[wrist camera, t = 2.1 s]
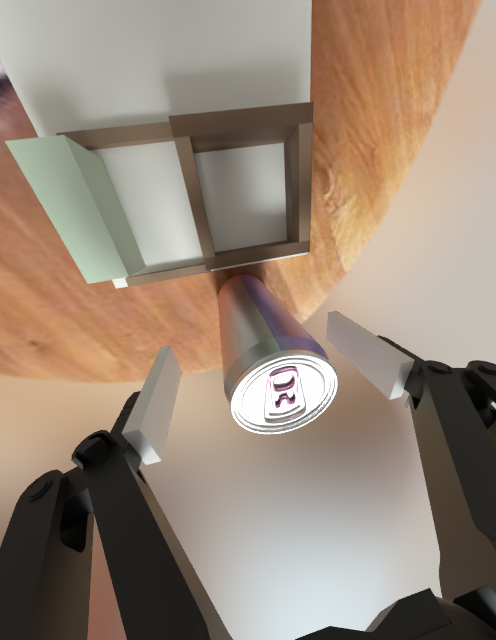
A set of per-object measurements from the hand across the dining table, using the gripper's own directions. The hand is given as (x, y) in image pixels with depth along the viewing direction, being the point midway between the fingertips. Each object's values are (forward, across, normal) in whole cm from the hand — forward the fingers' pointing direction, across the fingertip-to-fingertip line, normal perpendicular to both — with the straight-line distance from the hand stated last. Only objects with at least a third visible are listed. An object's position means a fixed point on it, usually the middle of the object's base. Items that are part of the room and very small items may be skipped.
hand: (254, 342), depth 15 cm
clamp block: (+7, -10, +10) cm, 16 cm away
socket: (+7, +2, +11) cm, 13 cm away
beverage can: (+9, 0, +1) cm, 9 cm away
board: (+8, -2, +14) cm, 16 cm away
